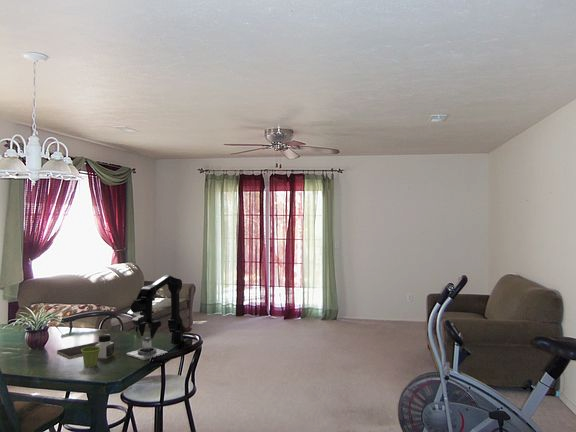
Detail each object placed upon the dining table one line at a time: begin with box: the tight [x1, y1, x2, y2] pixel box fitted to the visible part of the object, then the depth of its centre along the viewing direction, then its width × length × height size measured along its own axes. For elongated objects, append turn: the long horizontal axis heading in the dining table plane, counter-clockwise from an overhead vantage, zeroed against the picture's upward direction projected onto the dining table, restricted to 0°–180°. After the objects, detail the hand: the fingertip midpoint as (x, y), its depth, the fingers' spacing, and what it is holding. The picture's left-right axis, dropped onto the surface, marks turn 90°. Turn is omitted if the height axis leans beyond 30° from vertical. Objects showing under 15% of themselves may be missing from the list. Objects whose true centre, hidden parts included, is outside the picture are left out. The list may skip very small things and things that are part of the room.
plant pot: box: [81, 347, 101, 368], centre depth 234 cm, size 9×9×9 cm
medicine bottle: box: [95, 333, 115, 359], centre depth 250 cm, size 7×7×12 cm
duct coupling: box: [141, 336, 153, 352], centre depth 254 cm, size 5×5×8 cm
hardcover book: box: [56, 341, 99, 359], centre depth 260 cm, size 16×23×2 cm
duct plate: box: [126, 347, 169, 361], centre depth 254 cm, size 16×16×2 cm
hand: (146, 337), depth 254 cm, fingers open, 9 cm apart
